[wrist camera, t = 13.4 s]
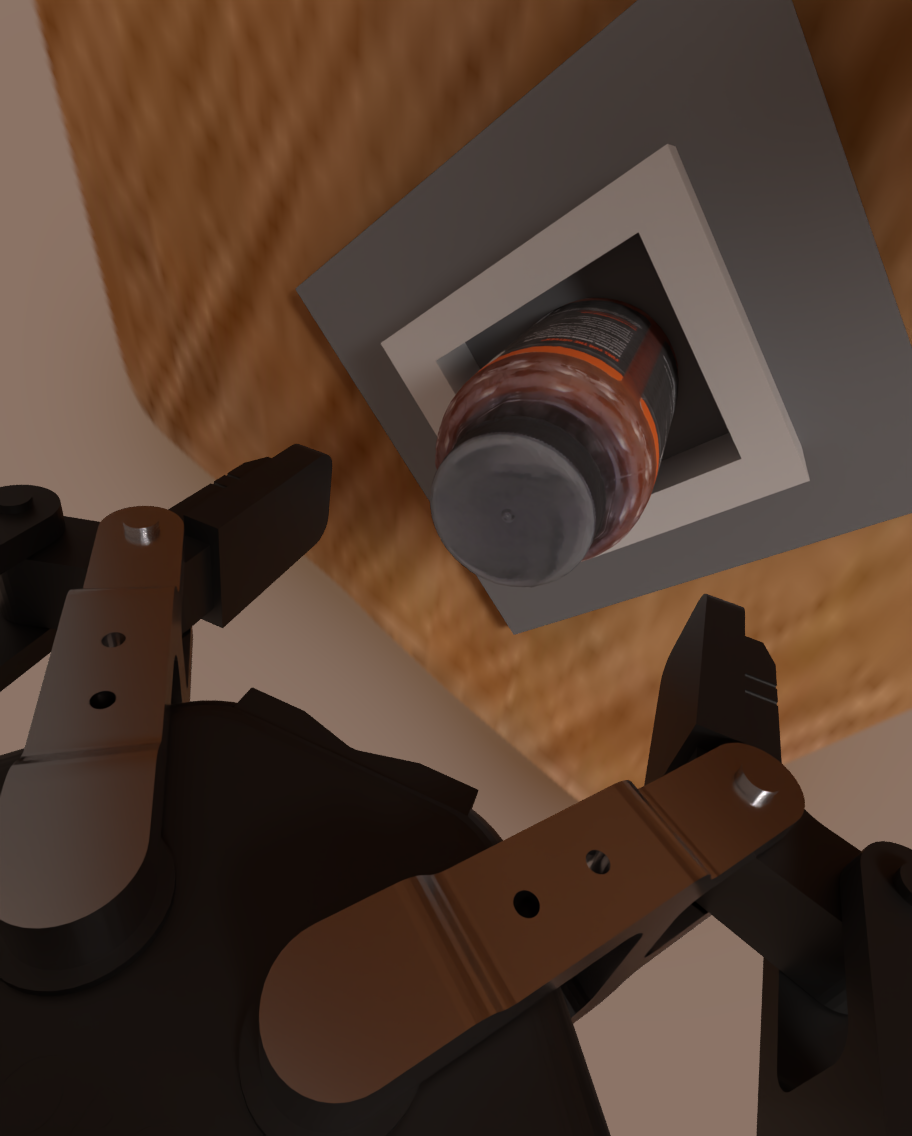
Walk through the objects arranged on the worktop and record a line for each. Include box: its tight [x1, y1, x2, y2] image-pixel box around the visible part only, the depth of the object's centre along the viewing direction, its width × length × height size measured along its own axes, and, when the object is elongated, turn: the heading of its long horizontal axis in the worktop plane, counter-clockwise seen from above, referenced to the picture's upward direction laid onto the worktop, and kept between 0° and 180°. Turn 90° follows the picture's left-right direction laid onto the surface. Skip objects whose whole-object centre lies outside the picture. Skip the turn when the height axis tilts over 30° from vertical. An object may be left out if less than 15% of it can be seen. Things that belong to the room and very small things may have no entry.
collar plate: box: [296, 0, 912, 635], centre depth 23 cm, size 18×18×4 cm
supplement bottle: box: [430, 298, 679, 588], centre depth 19 cm, size 6×6×11 cm
